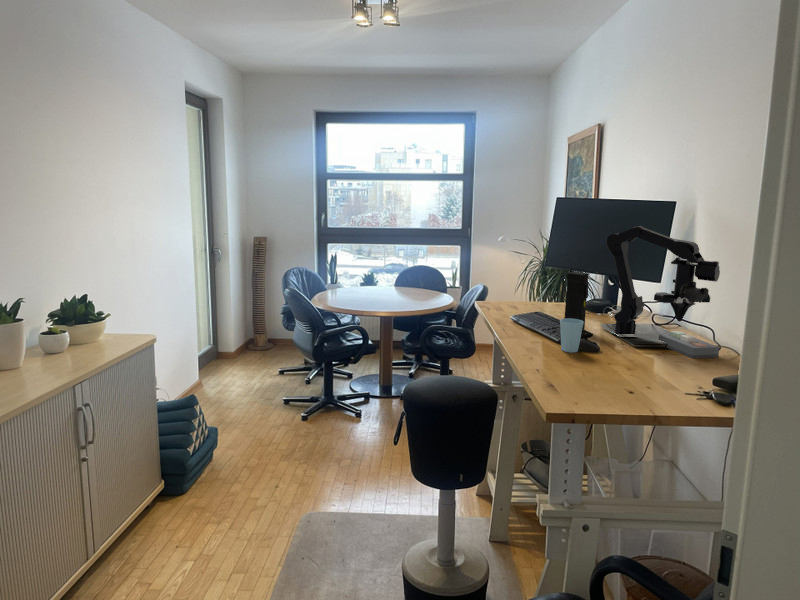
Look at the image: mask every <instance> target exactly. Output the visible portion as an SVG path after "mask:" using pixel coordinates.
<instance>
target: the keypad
mask: <svg viewBox="0 0 800 600" xmlns="http://www.w3.org/2000/svg"><path fill="white" fill-rule="evenodd" d="M658 340H661V341H664V342H666V343H667V344H668V345H667V347H666V348H667V349H669V350H671V351H674V352H677V353H678V354H681V355H684V356H686V357H688V358H691V359H698V358H699V359H703V358H704V359H705V358H719V354H720V353H719V352H720V346H718V345H716V344H712V343H709V342H708V341H707V342H706V341H704V340H702V339H699V338H697V340H696V342H685V341H682V340H680V338H674V337H672V336H670V333H665V334H658ZM691 343H702V344H705V345H707V346H704V347H698V346H695V345H692V344H691Z"/></svg>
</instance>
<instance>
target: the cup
mask: <svg viewBox="0 0 800 600" xmlns="http://www.w3.org/2000/svg"><path fill="white" fill-rule="evenodd" d="M559 322H560V323H559V326H560V347H561V348H560V349H561V351H563V352H565V353H578V352H579V346H580V341H581V337H582V332H583V330H582V328H583V323H584V322H583V321H582V320H578V319H570V318H566V319H564V318H561V319H560V320H559Z"/></svg>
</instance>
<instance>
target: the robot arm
mask: <svg viewBox="0 0 800 600" xmlns="http://www.w3.org/2000/svg"><path fill="white" fill-rule="evenodd" d="M636 239H641V240H644V241H646V242H648V243H651V244H653V245H657V246H658V247H662V248H664V249H666V250H667V251H669V252H671V254H673V255H675V256H677V257H676V258H675V259H673V260H672V261H671V262H670V264H671V265H676V273H675V278H674V279H673V278H672V283H674V288H673V290H671V293H668V292H662V291H661V292H656V293H655V294H654V297H653V301H655V302H659V303H663V304H670V306H671V308H672V311H673V313H674V315H675V319H676V321H677V322H682V321H683V318H684V317H685V315H686V313H687V312H688V310H689V309H690V307H692V306H694V305H695V306H696V303H711V296H710V294H709V293H710V292H709V291H710V289H708V288H707V287H701V288H699V287H697V281H694V279H695V278H697V280H699V281H706V282H707V281H708V282H716V283H717V282H718V280H719V278H720V273H721V270H720V265H719V264H720V261H715V260H713V261H710V260H705V259H704V257H703V255H702V254H701V252H700V247H699V245H698V243H696V242H695V241H691V240H685V239H676V238H673V237H671V236H668V235H665V234H663V233H659V232H657V231H654V230H651V229H649V228H646V227H644V226H643V225H639V226H637V225H635V226H634V227H632V228H629V229H628V230H625V231H622V232H618V233H611V234H609V236H607V238H606V240H605V241H606V242H605V244H606V246H607V249H608V251H609V253H610V254H611V256H612V257H613V259H614V263H615V267H616V272H617V277H618V281H619V287H620V291H621V299H620V310H619V311H618V312H617V313H615V314H614V315H613V317H614V321H615V329H614V332H612V335H614V336H616V337H618V336H617V335H615V334H614V333H616V334H635V335H636V329H637V328H636V327H637V324H636V320H637V318H638V316H641V315H642V314H643V312H644V307H645V304H644V303H643V296H642V295H640V296H638V294H637V293H636V291H635V286H634V281H633V278H632V277H633V276H632V272H631V267H630V263H629V258H628V253H629V248H630V246H629V243H630V242H633V241H635V240H636ZM694 277H695V278H694Z"/></svg>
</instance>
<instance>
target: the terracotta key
mask: <svg viewBox="0 0 800 600" xmlns="http://www.w3.org/2000/svg"><path fill="white" fill-rule="evenodd" d="M691 344H692V345H695V346H698V347H704V346H707V345H705V344H702V343H691Z"/></svg>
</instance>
